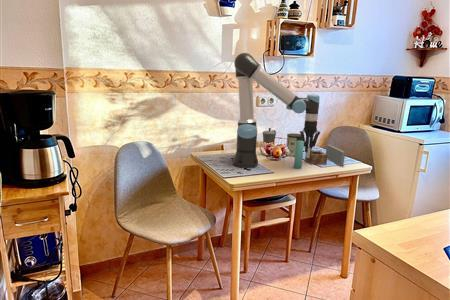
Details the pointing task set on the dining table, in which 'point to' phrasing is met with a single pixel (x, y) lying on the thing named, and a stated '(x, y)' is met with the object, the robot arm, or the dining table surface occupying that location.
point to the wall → (335, 155)
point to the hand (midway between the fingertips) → (307, 157)
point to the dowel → (298, 154)
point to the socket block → (317, 157)
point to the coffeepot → (269, 136)
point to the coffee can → (292, 142)
